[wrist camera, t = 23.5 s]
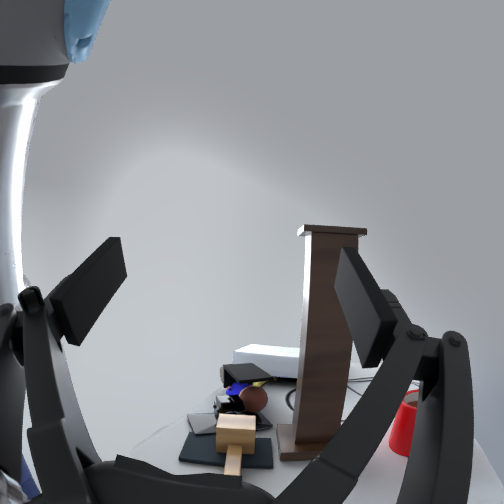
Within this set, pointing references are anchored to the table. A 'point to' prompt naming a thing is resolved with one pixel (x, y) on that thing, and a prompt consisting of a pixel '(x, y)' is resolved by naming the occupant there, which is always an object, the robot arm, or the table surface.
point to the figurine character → (246, 384)
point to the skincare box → (270, 359)
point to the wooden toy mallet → (235, 439)
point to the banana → (261, 382)
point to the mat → (205, 453)
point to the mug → (404, 424)
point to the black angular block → (223, 405)
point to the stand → (320, 347)
